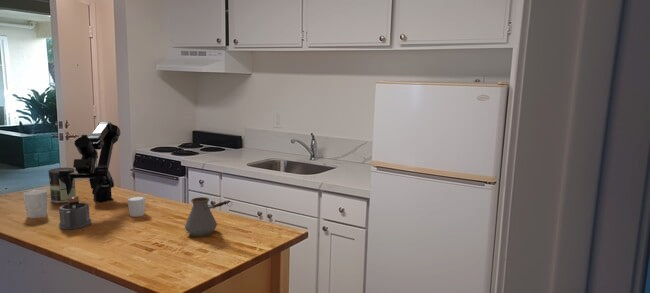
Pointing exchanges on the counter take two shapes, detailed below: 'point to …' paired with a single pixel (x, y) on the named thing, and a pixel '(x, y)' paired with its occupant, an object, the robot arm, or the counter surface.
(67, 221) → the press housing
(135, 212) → the shot glass
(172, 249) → the counter surface
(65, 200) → the coffee can
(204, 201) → the coffee pot
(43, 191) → the white cup
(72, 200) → the plunger
